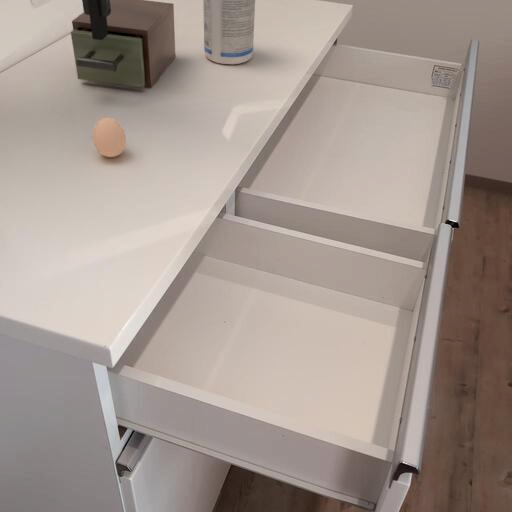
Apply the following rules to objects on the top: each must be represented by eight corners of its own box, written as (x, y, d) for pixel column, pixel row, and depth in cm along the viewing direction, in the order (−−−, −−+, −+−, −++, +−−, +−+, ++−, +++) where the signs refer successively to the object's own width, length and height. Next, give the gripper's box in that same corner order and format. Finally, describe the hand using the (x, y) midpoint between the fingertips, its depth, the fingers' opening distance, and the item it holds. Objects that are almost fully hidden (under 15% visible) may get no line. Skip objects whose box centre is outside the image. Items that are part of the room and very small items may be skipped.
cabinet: (151, 88, 94) (147, 30, 88) (80, 78, 95) (71, 20, 89) (175, 57, 105) (173, 3, 99) (112, 48, 106) (106, -5, 100)
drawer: (133, 100, 88) (128, 52, 83) (65, 91, 89) (56, 42, 84) (167, 58, 102) (165, 14, 97) (107, 50, 103) (102, 6, 98)
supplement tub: (259, 53, 109) (265, -27, 100) (240, 70, 102) (244, -15, 93) (216, 44, 112) (217, -35, 102) (194, 59, 105) (193, -24, 95)
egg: (132, 159, 77) (128, 122, 73) (102, 166, 75) (96, 129, 71) (120, 144, 79) (116, 108, 76) (90, 151, 78) (84, 115, 74)
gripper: (135, -148, 72) (148, 33, 88) (42, -156, 73) (71, 24, 89) (114, -143, 67) (132, 50, 82) (14, -152, 68) (50, 39, 83)
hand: (100, 36), depth 86 cm, fingers closed
